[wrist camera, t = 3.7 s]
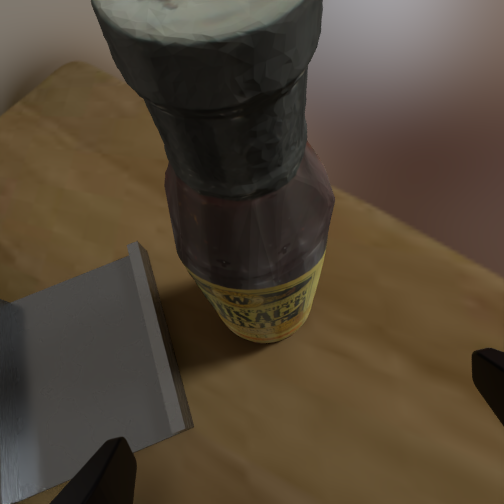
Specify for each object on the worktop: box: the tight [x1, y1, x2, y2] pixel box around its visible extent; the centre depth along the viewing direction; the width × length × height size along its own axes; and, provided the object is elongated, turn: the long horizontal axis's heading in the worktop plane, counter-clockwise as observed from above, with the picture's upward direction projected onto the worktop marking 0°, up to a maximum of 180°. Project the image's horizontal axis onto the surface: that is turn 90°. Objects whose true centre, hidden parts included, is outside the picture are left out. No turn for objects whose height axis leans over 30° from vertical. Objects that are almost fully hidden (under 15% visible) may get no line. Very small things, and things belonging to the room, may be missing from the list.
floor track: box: [0, 241, 194, 504], centre depth 23 cm, size 13×12×2 cm
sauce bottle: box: [91, 0, 335, 343], centre depth 15 cm, size 7×6×20 cm
